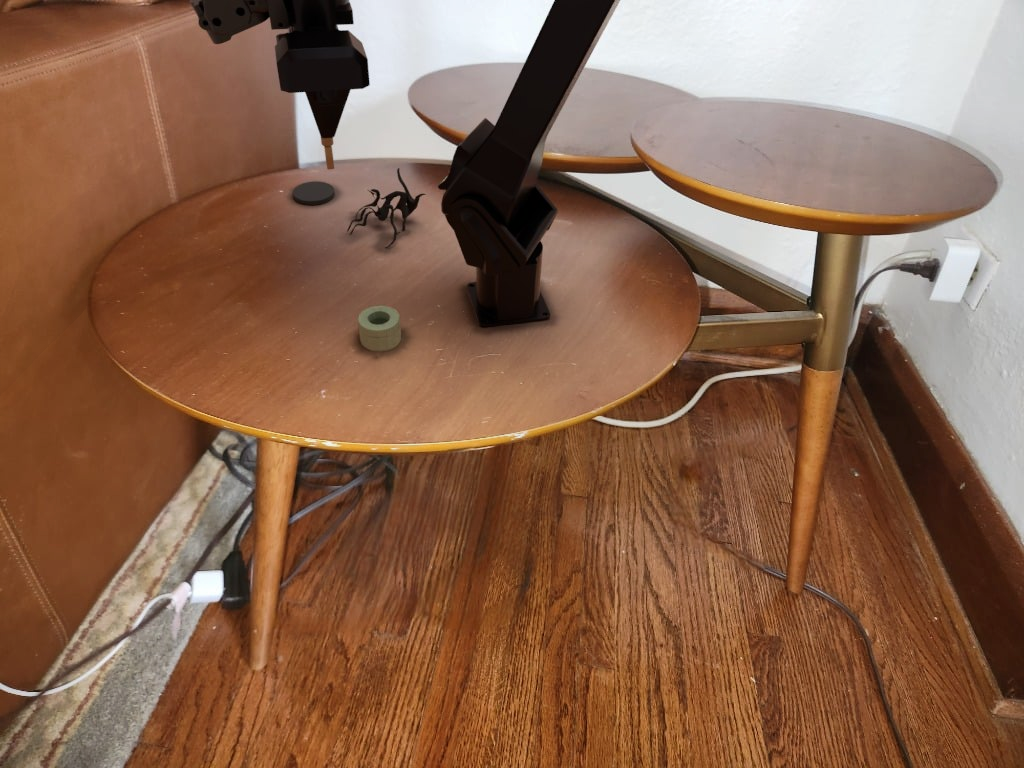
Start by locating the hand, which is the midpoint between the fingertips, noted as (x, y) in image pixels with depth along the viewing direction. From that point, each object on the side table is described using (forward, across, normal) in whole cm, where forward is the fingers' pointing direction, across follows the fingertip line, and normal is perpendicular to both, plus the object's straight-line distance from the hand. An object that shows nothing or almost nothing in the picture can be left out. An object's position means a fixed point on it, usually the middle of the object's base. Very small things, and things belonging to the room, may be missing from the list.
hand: (327, 133), depth 66 cm
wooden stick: (+3, 0, 0) cm, 3 cm away
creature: (+13, -6, +5) cm, 15 cm away
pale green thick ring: (+13, +12, +2) cm, 18 cm away
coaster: (+13, -14, -2) cm, 19 cm away
